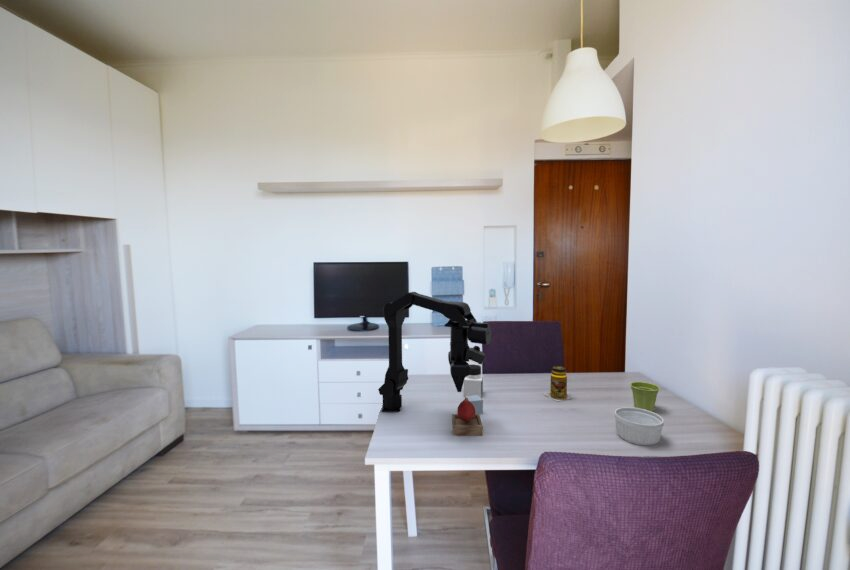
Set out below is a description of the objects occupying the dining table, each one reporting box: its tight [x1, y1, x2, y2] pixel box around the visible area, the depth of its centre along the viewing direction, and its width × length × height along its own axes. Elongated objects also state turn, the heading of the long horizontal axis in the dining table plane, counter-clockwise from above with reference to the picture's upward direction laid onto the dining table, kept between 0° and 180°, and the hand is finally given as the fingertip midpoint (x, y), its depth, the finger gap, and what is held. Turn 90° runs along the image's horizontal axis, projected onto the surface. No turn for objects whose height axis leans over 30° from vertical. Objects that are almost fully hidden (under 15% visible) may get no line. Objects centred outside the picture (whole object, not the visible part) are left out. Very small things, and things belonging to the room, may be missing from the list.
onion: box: [456, 397, 475, 423], centre depth 122 cm, size 6×6×8 cm
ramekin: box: [614, 406, 665, 446], centre depth 115 cm, size 13×13×7 cm
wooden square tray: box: [451, 413, 484, 437], centre depth 122 cm, size 9×9×4 cm
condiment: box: [543, 365, 572, 402], centre depth 149 cm, size 7×8×12 cm
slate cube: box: [464, 395, 484, 415], centre depth 136 cm, size 5×5×5 cm
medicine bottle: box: [463, 363, 484, 399], centre depth 152 cm, size 7×7×12 cm
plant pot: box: [629, 381, 661, 412], centre depth 136 cm, size 9×9×9 cm
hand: (458, 386), depth 125 cm, fingers open, 9 cm apart
